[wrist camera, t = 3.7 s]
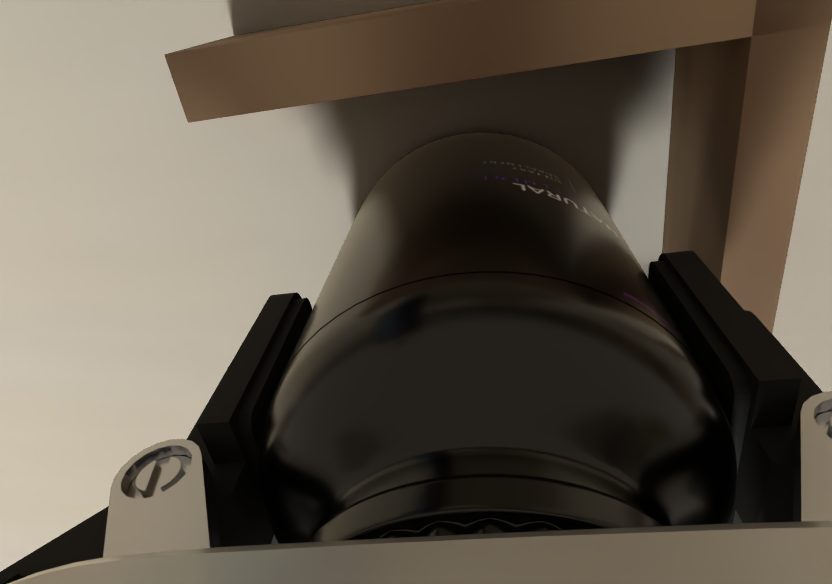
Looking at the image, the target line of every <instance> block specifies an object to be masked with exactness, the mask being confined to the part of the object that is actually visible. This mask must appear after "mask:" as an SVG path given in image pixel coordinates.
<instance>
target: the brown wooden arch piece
mask: <svg viewBox="0 0 832 584" xmlns="http://www.w3.org/2000/svg"><path fill="white" fill-rule="evenodd" d="M831 19H832V0H439V1H434V2H428V3H422V4H416V5H410V6H405V7H399V8H393V9H387V10H381V11H376V12H370V13H364V14H358V15H352V16H347V17H341V18H335V19H329V20H323V21H318V22H312V23H306V24H300V25H295V26H289V27H283V28H277V29H271V30H266V31H260V32H254V33H248V34H242V35H237V36H232V37H228V38H224V39H221V40H217V41H213V42H209V43H206V44H202V45H198V46H195V47H191V48H187V49H184V50H180V51H176V52H172V53H169V54H165V58H166V61H167V64H168V66H169V69H170V72H171V75H172V78H173V81H174V84H175V86H176V89H177V92H178V95H179V98H180V101H181V104H182V107H183V109H184V112H185V115H186V118H187V121H188V122H195V121H202V120H208V119H215V118H221V117H228V116H234V115H241V114H247V113H254V112H260V111H267V110H274V109H280V108H287V107H293V106H300V105H306V104H313V103H319V102H326V101H333V100H339V99H346V98H352V97H359V96H365V95H372V94H378V93H385V92H392V91H398V90H405V89H411V88H418V87H424V86H431V85H437V84H444V83H450V82H457V81H464V80H470V79H477V78H483V77H490V76H496V75H503V74H509V73H516V72H523V71H529V70H536V69H542V68H549V67H555V66H562V65H568V64H575V63H582V62H588V61H595V60H601V59H608V58H614V57H621V56H627V55H634V54H641V53H647V52H654V51H660V50H667V49H673V48H677V49H676V64H675V78H674V93H673V108H672V122H671V137H670V152H669V166H668V181H667V196H666V210H665V225H664V240H663V253H672V252H681V251H691V250H692V251H694V252H695V253H696V254H697V256H698V257H699V258H700V259H701V260H702V261H703V263H704V264H705V265H706V266H707V267H708V268H709V270H710V271H711V272H712V273H713V274H714V275H715V277H716V278H717V279H718V280H719V281H720V282H721V284H722V285H723V286H724V287H725V288H726V290H727V291H728V292H729V293H730V294H731V295H732V297H733V298H734V299H735V300H736V301H737V302H738V304H739V305H740V306H741V307H742V308H743V309H744V310H747V311H751V312H752V313H753V314H754V315H756V316H757V318H758V319H759V320H760V321H761V322H762V323H763V324H764V326H765V327H766V328H767V329H768V330H769V331H770V332H771V334H772V331H773V326H774V320H775V315H776V310H777V305H778V299H779V294H780V289H781V283H782V278H783V273H784V268H785V262H786V257H787V252H788V246H789V241H790V236H791V231H792V225H793V220H794V215H795V209H796V204H797V199H798V194H799V188H800V183H801V178H802V172H803V167H804V162H805V156H806V151H807V146H808V141H809V135H810V130H811V125H812V119H813V114H814V109H815V104H816V98H817V93H818V88H819V82H820V77H821V72H822V67H823V61H824V56H825V51H826V45H827V40H828V35H829V30H830V24H831Z"/></svg>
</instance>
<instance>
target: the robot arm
mask: <svg viewBox="0 0 832 584" xmlns="http://www.w3.org/2000/svg"><path fill="white" fill-rule="evenodd" d="M648 280H649V281H650V283H651V284H652V286H653V288H654V289H655V291H656V293H657V294H658V296H659V298H660V299H661V301H662V302H663V304H664V306H665V307H666V309H667V311H668V312H669V314H670V316H671V317H672V319H673V320H674V322H675V324H676V325H677V327H678V329H679V330H680V332H681V334H682V335H683V337H684V338H685V340H686V342H687V343H688V345H689V347H690V348H691V350H692V352H693V353H694V355H695V357H696V358H697V360H698V362H699V363H700V365H701V367H702V368H703V370H704V372H705V374H706V375H707V377H708V379H709V380H710V382H711V384H712V386H713V389H714V390H715V392H716V394H717V396H718V398H719V400H720V402H721V404H722V407H723V409H724V411H725V414H726V416H727V419H728V421H729V424H730V428H731V432H732V436H733V440H734V444H735V451H736V461H737V484H736V496H735V502H734V507H733V512H732V517H731V521H730V524H708V525H683V526H658V527H633V528H608V529H583V530H560V531H537V532H515V533H494V534H470V535H449V536H427V537H406V538H385V539H365V540H346V541H326V542H307V543H287V544H278V542H277V540H276V537H275V535H274V533H273V530H272V528H271V525H270V522H269V520H268V517H267V513H266V509H265V505H264V501H263V497H262V492H261V485H260V476H259V447H260V440H261V434H262V428H263V424H264V421H265V418H266V415H267V412H268V409H269V406H270V403H271V400H272V398H273V396H274V393H275V390H276V387H277V385H278V383H279V381H280V379H281V376H282V374H283V372H284V370H285V368H286V366H287V363H288V361H289V359H290V357H291V355H292V353H293V351H294V348H295V346H296V344H297V342H298V340H299V338H300V336H301V333H302V331H303V329H304V327H305V325H306V323H307V321H308V318H309V316H310V314H311V312H312V307H311V304H310V301H309V300H308V299H307V298H303V299H302V298H301V296H300V295H299V294H298V293H288V294H279V295H271V296H270V297H269V299H268V300H267V302H266V304H265V305H264V307H263V309H262V311H261V312H260V314H259V316H258V318H257V319H256V321H255V323H254V324H253V326H252V328H251V330H250V331H249V333H248V335H247V337H246V338H245V340H244V342H243V343H242V345H241V347H240V349H239V350H238V352H237V354H236V356H235V357H234V359H233V361H232V362H231V364H230V366H229V367H228V369H227V371H226V373H225V374H224V376H223V378H222V379H221V381H220V383H219V385H218V386H217V388H216V390H215V392H214V393H213V395H212V397H211V398H210V400H209V402H208V404H207V405H206V407H205V409H204V411H203V412H202V414H201V416H200V417H199V419H198V421H197V423H196V424H195V426H194V428H193V429H192V431H191V433H190V435H189V436H188V438H187V440H185V439H173V440H167V441H164V442H160V443H157V444H155V445H153V446H150V447H148V448H146V449H144V450H143V451H141V452H140V453H138V454H137V455H135V456H134V457H132V458H131V459H130V460H129V461H128V462H127V463H126V464H125V465H124V466H123V467H121V469H120V470H119V472H118V473H117V475H116V476H115V478H114V480H113V483H112V486H111V491H110V499H109V506H108V507H106V508H105V509H103V510H102V511H100V512H98V513H97V514H95V515H93V516H92V517H90V518H88V519H87V520H85V521H83V522H82V523H80V524H78V525H77V526H75V527H73V528H72V529H70V530H69V531H67V532H65V533H64V534H62V535H60V536H59V537H57V538H55V539H54V540H52V541H50V542H49V543H47V544H45V545H44V546H42V547H40V548H39V549H37V550H36V551H34V552H32V553H31V554H29V555H27V556H26V557H24V558H22V559H21V560H19V561H17V562H16V563H14V564H12V565H11V566H9V567H7V568H6V569H4V570H3V571H1V572H0V584H832V391H830V392H822V391H821V389H820V388H819V387H818V386H817V385H816V384H815V383H814V381H813V380H812V379H811V378H810V377H809V376H808V375H807V373H806V372H805V371H804V370H803V369H802V368H801V367H800V366H799V364H798V363H797V362H796V361H795V360H794V359H793V358H792V356H791V355H790V354H789V353H788V352H787V351H786V350H785V348H784V347H783V346H782V345H781V344H780V343H779V342H778V340H777V339H776V338H775V337H774V336H773V335H772V334H771V332H770V331H769V330H768V329H767V328H766V327H765V326H764V324H763V323H762V322H761V321H760V320H759V319H758V318H757V316H756V315H754V314H753V313H752V312H751V311H747V310H744V309H743V308H742V307H741V306H740V305H739V304H738V302H737V301H736V300H735V299H734V298H733V297H732V295H731V294H730V293H729V292H728V291H727V290H726V288H725V287H724V286H723V285H722V284H721V282H720V281H719V280H718V279H717V278H716V277H715V275H714V274H713V273H712V272H711V271H710V270H709V268H708V267H707V266H706V265H705V264H704V263H703V261H702V260H701V259H700V258H699V257H698V256H697V254H696V253H695V252H694V251H692V250H691V251H681V252H672V253H663V254H661V255H660V256H659V259H658V261H655V262H651V263H650V265H649V274H648Z"/></svg>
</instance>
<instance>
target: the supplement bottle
mask: <svg viewBox="0 0 832 584" xmlns="http://www.w3.org/2000/svg"><path fill="white" fill-rule="evenodd" d="M259 476H260V485H261V492H262V497H263V501H264V505H265V509H266V513H267V517H268V520H269V522H270V525H271V528H272V530H273V533H274V535H275V537H276V540H277V542H278V544H287V543H307V542H326V541H346V540H365V539H385V538H406V537H427V536H449V535H470V534H494V533H515V532H537V531H560V530H583V529H608V528H633V527H658V526H683V525H708V524H730V521H731V517H732V512H733V507H734V502H735V496H736V484H737V461H736V451H735V444H734V440H733V436H732V432H731V428H730V424H729V421H728V419H727V416H726V414H725V411H724V409H723V407H722V404H721V402H720V400H719V398H718V396H717V394H716V392H715V390H714V389H713V386H712V384H711V382H710V380H709V379H708V377H707V375H706V374H705V372H704V370H703V368H702V367H701V365H700V363H699V362H698V360H697V358H696V357H695V355H694V353H693V352H692V350H691V348H690V347H689V345H688V343H687V342H686V340H685V338H684V337H683V335H682V334H681V332H680V330H679V329H678V327H677V325H676V324H675V322H674V320H673V319H672V317H671V316H670V314H669V312H668V311H667V309H666V307H665V306H664V304H663V302H662V301H661V299H660V298H659V296H658V294H657V293H656V291H655V289H654V288H653V286H652V284H651V283H650V281H649V280H648V278H647V276H646V275H645V273H644V271H643V270H642V268H641V266H640V265H639V263H638V262H637V260H636V258H635V257H634V255H633V253H632V252H631V250H630V249H629V247H628V245H627V244H626V242H625V240H624V239H623V237H622V235H621V234H620V232H619V231H618V229H617V227H616V226H615V224H614V222H613V221H612V219H611V217H610V216H609V214H608V213H607V211H606V209H605V208H604V206H603V204H602V203H601V201H600V200H599V198H598V197H597V195H596V194H595V192H594V191H593V189H592V188H591V187H590V185H589V184H588V183H587V182H586V180H585V179H584V178H583V177H582V176H581V175H580V174H579V173H578V171H577V170H576V169H575V168H574V167H572V166H571V165H570V164H569V163H568V162H567V161H565V160H564V159H563V158H561V157H560V156H558V155H557V154H556V153H554V152H553V151H551V150H549V149H547V148H545V147H543V146H541V145H539V144H537V143H534V142H532V141H529V140H526V139H523V138H519V137H516V136H511V135H506V134H499V133H467V134H459V135H454V136H450V137H445V138H442V139H439V140H436V141H433V142H431V143H428V144H426V145H424V146H422V147H420V148H418V149H416V150H414V151H412V152H411V153H409V154H407V155H406V156H405V157H403V158H402V159H400V160H399V161H398V162H397V163H395V164H394V165H393V166H392V167H391V168H390V169H388V171H387V172H386V173H385V174H384V175H383V176H382V177H381V178H380V179H379V180H378V182H377V183H376V184H375V186H374V187H373V188H372V190H371V191H370V192H369V194H368V196H367V197H366V199H365V201H364V202H363V204H362V206H361V208H360V210H359V212H358V214H357V216H356V218H355V220H354V222H353V224H352V227H351V229H350V231H349V233H348V235H347V237H346V239H345V241H344V244H343V246H342V248H341V250H340V252H339V254H338V256H337V259H336V261H335V263H334V265H333V267H332V269H331V271H330V274H329V276H328V278H327V280H326V282H325V284H324V286H323V289H322V291H321V293H320V295H319V297H318V299H317V301H316V303H315V306H314V308H313V310H312V312H311V314H310V316H309V318H308V321H307V323H306V325H305V327H304V329H303V331H302V333H301V336H300V338H299V340H298V342H297V344H296V346H295V348H294V351H293V353H292V355H291V357H290V359H289V361H288V363H287V366H286V368H285V370H284V372H283V374H282V376H281V379H280V381H279V383H278V385H277V387H276V390H275V393H274V396H273V398H272V400H271V403H270V406H269V409H268V412H267V415H266V418H265V421H264V424H263V428H262V434H261V440H260V447H259Z"/></svg>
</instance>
